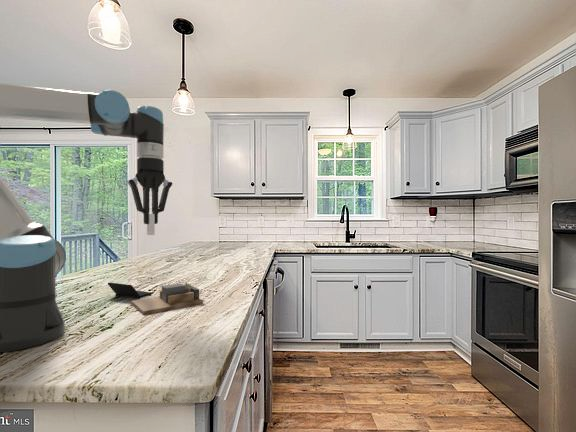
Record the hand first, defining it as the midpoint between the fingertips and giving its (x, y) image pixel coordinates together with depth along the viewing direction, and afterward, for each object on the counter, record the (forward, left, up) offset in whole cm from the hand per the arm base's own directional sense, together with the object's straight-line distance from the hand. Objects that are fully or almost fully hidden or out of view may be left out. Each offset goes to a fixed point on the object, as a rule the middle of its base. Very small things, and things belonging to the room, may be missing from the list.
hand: (150, 234), depth 97 cm
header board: (+5, 0, -22) cm, 23 cm away
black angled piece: (-2, +18, -23) cm, 29 cm away
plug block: (+7, 0, -21) cm, 22 cm away
